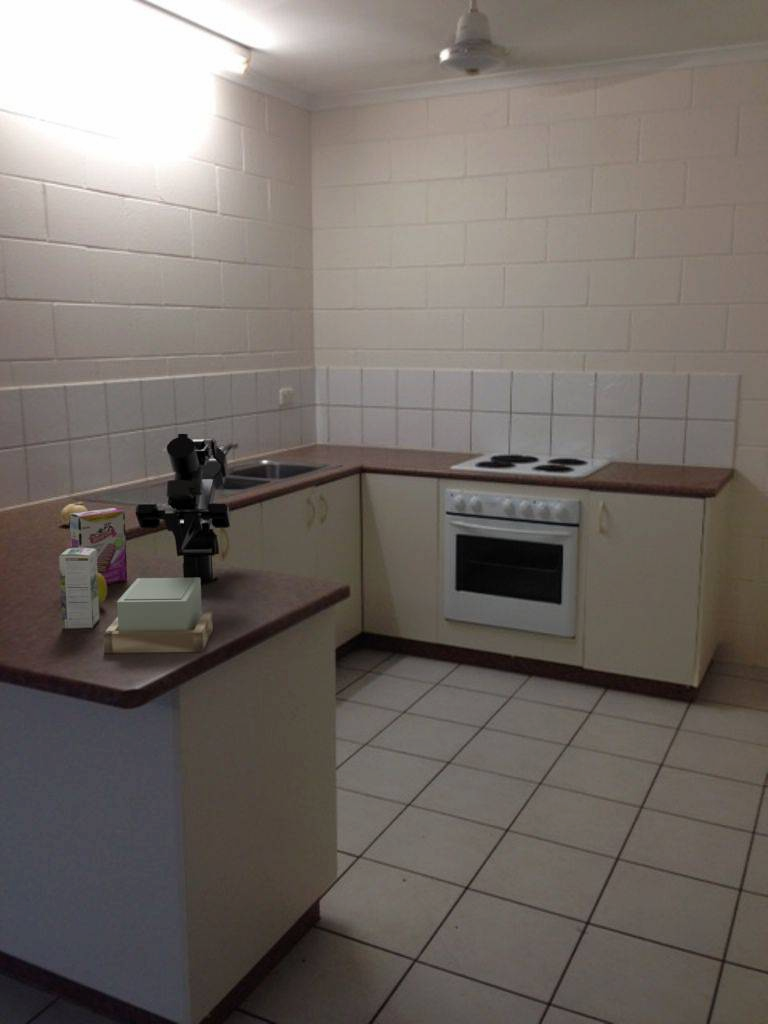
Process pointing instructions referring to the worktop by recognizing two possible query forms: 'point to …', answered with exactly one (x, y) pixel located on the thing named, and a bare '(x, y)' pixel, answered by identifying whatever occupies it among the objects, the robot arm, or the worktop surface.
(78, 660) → the worktop surface
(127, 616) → the tub
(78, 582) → the syrup box
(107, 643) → the wooden tray
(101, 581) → the lemon
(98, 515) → the candy bar box
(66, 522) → the onion
